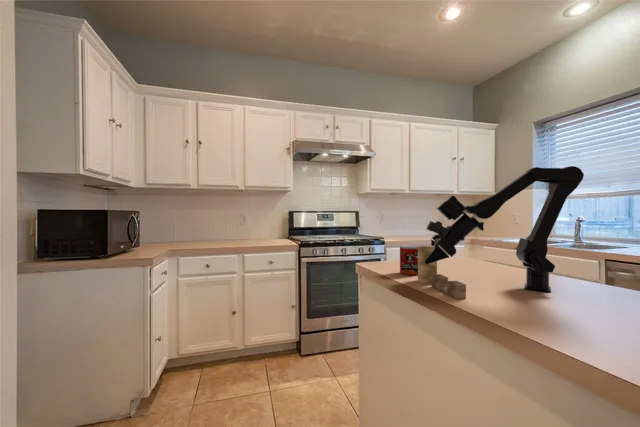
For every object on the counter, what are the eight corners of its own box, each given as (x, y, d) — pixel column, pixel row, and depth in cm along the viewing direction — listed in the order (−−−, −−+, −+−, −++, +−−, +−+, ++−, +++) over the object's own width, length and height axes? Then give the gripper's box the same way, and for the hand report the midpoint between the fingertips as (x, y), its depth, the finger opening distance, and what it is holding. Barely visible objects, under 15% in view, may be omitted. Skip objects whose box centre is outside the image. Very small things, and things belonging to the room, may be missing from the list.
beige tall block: (436, 281, 100) (436, 245, 100) (436, 283, 97) (437, 246, 97) (417, 280, 102) (418, 245, 102) (418, 282, 99) (418, 246, 99)
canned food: (399, 275, 110) (399, 246, 110) (400, 271, 117) (400, 244, 117) (420, 276, 107) (420, 247, 107) (419, 272, 115) (419, 245, 115)
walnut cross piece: (431, 286, 93) (431, 274, 93) (440, 286, 93) (440, 274, 93) (456, 299, 80) (456, 284, 80) (465, 298, 80) (466, 284, 80)
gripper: (438, 213, 107) (407, 241, 110) (445, 213, 89) (408, 247, 92) (461, 234, 105) (428, 262, 108) (472, 239, 87) (433, 272, 90)
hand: (424, 260), depth 100 cm, fingers open, 9 cm apart
